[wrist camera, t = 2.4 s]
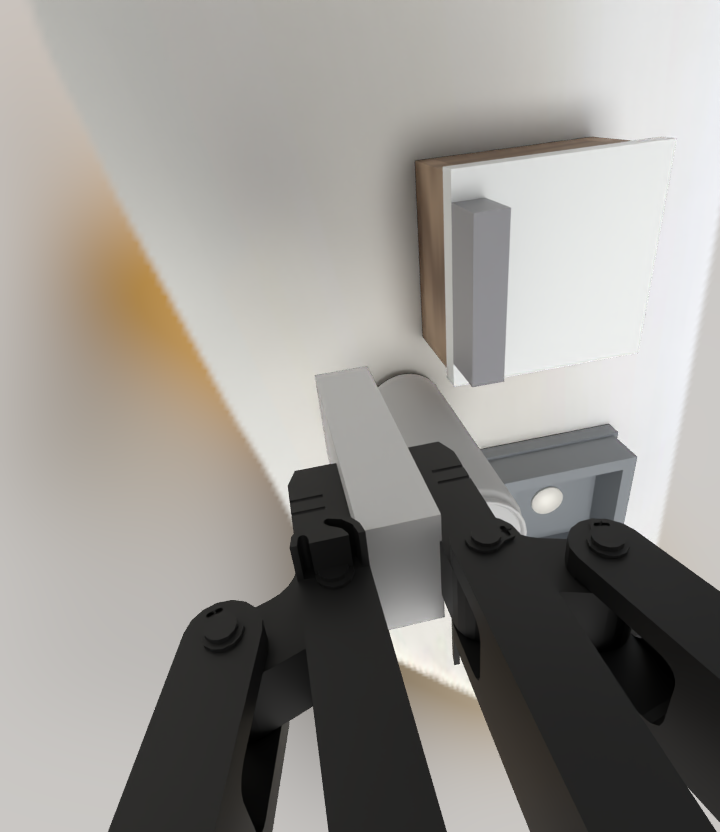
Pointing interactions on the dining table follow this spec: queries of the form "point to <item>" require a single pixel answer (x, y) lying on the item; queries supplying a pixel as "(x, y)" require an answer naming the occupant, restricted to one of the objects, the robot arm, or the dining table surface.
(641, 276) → the lid
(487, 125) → the dining table surface
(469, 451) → the beverage can
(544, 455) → the socket board
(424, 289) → the tray
